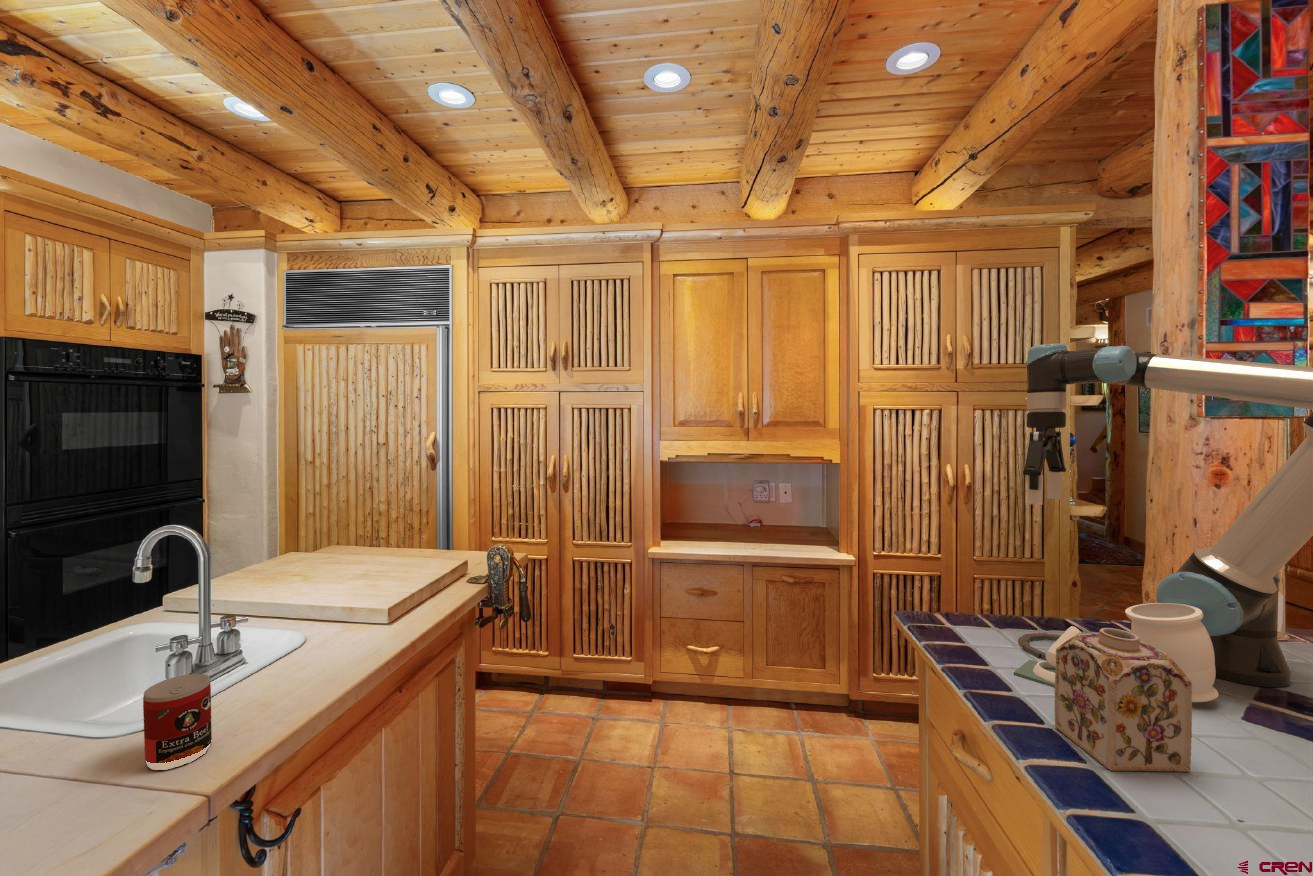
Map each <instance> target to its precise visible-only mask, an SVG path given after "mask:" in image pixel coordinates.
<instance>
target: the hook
mask: <svg viewBox="0 0 1313 876" xmlns="http://www.w3.org/2000/svg"><path fill="white" fill-rule="evenodd" d="M1077 634H1083V632H1082V631H1081V630H1080V629H1079V628H1078V627H1075V626H1073V625H1072V626H1070V627H1068V628H1067V629H1066V630H1065V631H1064V632H1063V633H1062V634H1060V635H1061V636H1060V638H1059V639H1058V640H1057V641H1054V642H1053V643H1052V644H1051V646H1050V647H1049V648H1048V650H1047V652H1045V653H1046V655H1045V656H1046V660H1047V661H1046V660H1040V661H1037V662H1038V663H1037V664H1036V665H1035V667H1034V669H1033V672H1034V674H1035V675H1037V676H1038V677H1040V678H1042V679H1044V680H1047V681H1050V682H1053V683H1055V673H1053V672H1050V671H1047V670H1045V669H1043V668H1051V669H1055V664H1056V649H1057V648H1058V647H1060V645H1062V644H1063V643H1064V642H1066V641H1067V640H1069V639H1070V638H1072V637H1074V636H1075V635H1077Z"/></svg>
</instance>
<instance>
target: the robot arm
mask: <svg viewBox="0 0 1313 876" xmlns="http://www.w3.org/2000/svg"><path fill="white" fill-rule="evenodd" d="M1026 361H1027V362H1026V365H1025V367H1026V382H1027V383H1026V387H1027V389H1026V397H1024V402H1026V410H1028V411H1029V412H1027V413H1026V421H1025V422H1026V423H1025V424H1026V427H1027V428H1029V429H1035V431H1030V432H1029V440H1028V441H1029V442H1028V448H1027V453H1026V457H1025V458H1026V459H1025V464H1024V469H1023V471H1022V474H1023V475H1024V476H1027V504H1029V505H1040V506H1041V505H1043V503H1044V501H1043V500H1044V499H1043V498H1044V497H1043V495H1044V493H1043V492H1044V475H1042V472H1043V470H1044V465H1045V462H1046V464H1047V469H1048V471H1047V472H1046V476H1047V477H1046V478H1047V479H1046V486H1047V487H1046V499H1051V500H1062V483H1063V482H1062V473H1066V472H1067V467H1066V466H1065V459H1064V452H1063V445H1062V432H1061V431H1060V430H1059V431H1058V430H1057V429H1064V428H1065V427H1066V426H1067V413H1066V412H1065V411H1064V410H1065V409H1067V385H1079V384H1083V385H1084V384H1110V385H1121V386H1129V387H1136V388H1137V387H1138V388H1147V389H1152V390H1153V389H1154V390H1160V391H1161V390H1162V391H1169V392H1179V393H1184V394H1191V395H1192V394H1193V395H1200V396H1208V397H1213V398H1222V399H1230V400H1236V401H1237V400H1238V401H1246V402H1253V403H1258V404H1259V403H1260V404H1267V405H1274V406H1275V405H1276V406H1283V407H1289V408H1296V409H1297V408H1299V409H1306V410H1312V411H1311V413H1310V414H1309V415H1308V416H1307V417H1306V419H1304V421H1303V422H1302V427H1303V430H1304V433H1305V434H1306V436H1305V438H1304V440H1303V441H1302V442H1301V443H1300V444H1299V445H1298V447H1296V449H1295V450H1294V452H1293V453H1291V455H1290V456H1289V457H1288V458H1287V459H1286V460H1285V462H1284V463H1283V464H1282V465H1281V466H1280V468H1279V469H1278V470H1277V471H1276V472H1275V473H1274V475H1273V476H1272V477H1271V478H1270V479H1269V480H1268V482H1267V483H1266V484H1265V485H1264V486H1263V487H1262V488H1261V490H1260V491H1259V492H1258V493H1257V495H1255V496H1254V498H1253V499H1252V500H1251V501H1250V502H1249V504H1248V505H1247V506H1246V507H1244V510H1243V511H1242V512H1241V513H1240V514H1239V515H1238V516H1237V518H1235V520H1234V521H1233V522H1232V523H1231V525H1230V526H1229V527H1228V528H1227V529H1226V530H1225V531H1224V533H1223V534H1222V535H1221V536H1220V537H1219V538H1218V539H1217V541H1216V542H1215V543H1214V544H1213V546H1211V547H1201V548H1196V549H1195V550H1194V551H1193V552H1192V553H1191V554H1190V555H1189V557H1188V558H1187V559H1186V560H1185V561H1184V563H1183V564H1182V565H1181V566H1180V567H1179V569H1178V570H1177V571H1176V572H1172V573H1170V574H1168V575H1167V576H1165V577H1164V578H1163V579H1162V580H1161V581H1160V582H1159V584H1158V586H1157V587H1156V588H1157V589H1156V601H1157V603H1175V604H1184V605H1189V606H1193V607H1196V608H1199V609H1200V610H1201V611H1202V613H1203V619H1202V620H1201V622H1202V623H1203V625H1204V626H1205V628H1206V630H1207V632H1208V634H1209V636H1210V639H1211V642H1212V645H1213V649H1214V656H1215V670H1216V676H1215V678H1220V679H1222V680H1228V681H1231V682H1236V683H1241V684H1244V685H1251V686H1258V687H1266V688H1267V687H1268V688H1282V687H1287V686H1290V684H1291V673H1292V672H1291V669H1290V666H1289V665H1288V662H1287V660H1286V658H1285V655H1284V653H1283V650H1282V648H1281V646H1280V643H1279V641H1278V624H1279V619H1278V618H1279V584H1280V582H1281V578H1280V575H1279V572H1280V570H1281V569H1282V568H1284V567H1285V565H1286V564H1287V563H1288V562H1289V561H1290V560H1291V559H1292V558H1293V557H1294V556H1295V555H1296V554H1297V553H1298V552H1299V551H1300V549H1302V548H1303V547H1304V545H1305V544H1306V543H1307V542H1308V541H1310V539H1311V538H1312V537H1313V366H1303V365H1302V366H1301V365H1292V364H1291V365H1290V364H1278V363H1269V362H1267V363H1266V362H1255V361H1243V360H1231V359H1221V358H1220V359H1218V358H1207V357H1197V356H1195V357H1194V356H1185V355H1184V356H1183V355H1172V354H1161V353H1159V354H1156V353H1149V352H1139V351H1134V350H1132V347H1130V346H1128V345H1127V346H1126V345H1117V346H1111V345H1109V346H1105V347H1104V346H1103V347H1098V348H1088V349H1080V350H1069V351H1068V347H1067V345H1066V344H1064V343H1048V344H1047V343H1044V344H1037V345H1033V346H1032V347H1030V348H1029V349H1028V351H1027V360H1026ZM1056 430H1057V431H1056Z"/></svg>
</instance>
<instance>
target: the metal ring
mask: <svg viewBox="0 0 1313 876" xmlns="http://www.w3.org/2000/svg"><path fill="white" fill-rule="evenodd" d="M1061 635H1062V634H1053V633H1045V632H1037V633H1024V634H1023V635H1022V636H1020V637H1018V646H1020V648H1021V647H1022V648H1021V649H1022V650H1023V651H1024V652H1025V651H1026V652H1025V653H1028V654H1030V655H1031V656H1034V657H1036V658H1037V659H1041V661H1047V660H1046V656H1045V655H1046V653H1047V652H1043V651H1042V650H1039V649H1038V648H1036V647H1033V646H1032V645H1031V644H1030V643H1031V642H1032V640H1035V641H1051V642H1056V641H1057V640H1058V639H1059V638H1060V636H1061ZM1030 641H1031V642H1030Z"/></svg>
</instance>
